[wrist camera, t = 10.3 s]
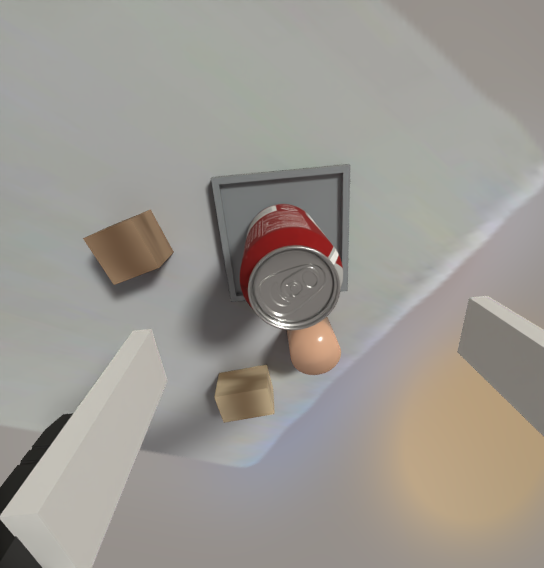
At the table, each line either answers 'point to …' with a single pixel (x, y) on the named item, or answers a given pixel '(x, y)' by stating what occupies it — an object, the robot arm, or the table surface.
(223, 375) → the oak block
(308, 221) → the soda can
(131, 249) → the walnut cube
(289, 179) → the tray
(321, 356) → the peach rounded capsule part
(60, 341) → the table surface
